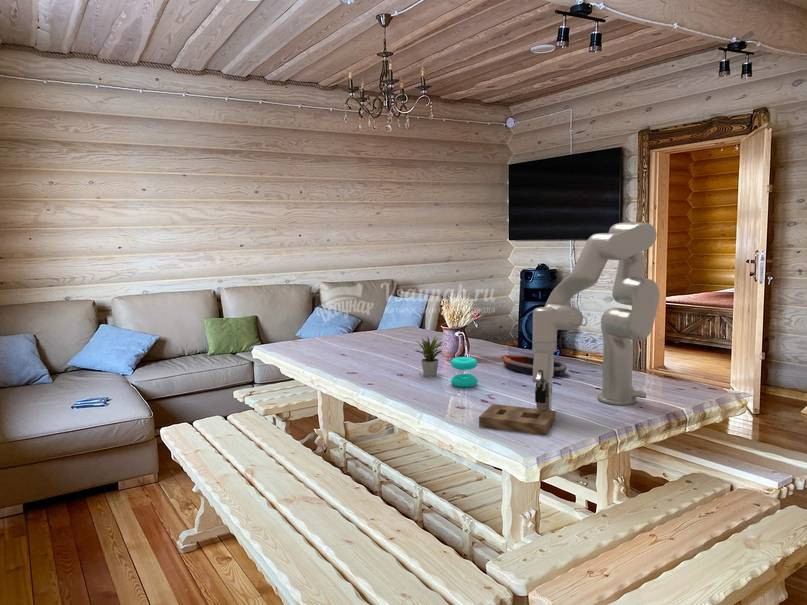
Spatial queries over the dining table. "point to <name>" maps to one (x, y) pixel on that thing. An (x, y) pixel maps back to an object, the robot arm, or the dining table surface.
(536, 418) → the walnut bore plate
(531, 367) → the dish
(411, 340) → the dining table surface
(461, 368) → the donuts
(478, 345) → the dining table surface
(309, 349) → the dining table surface
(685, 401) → the dining table surface
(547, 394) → the steel square peg
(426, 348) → the house plant
